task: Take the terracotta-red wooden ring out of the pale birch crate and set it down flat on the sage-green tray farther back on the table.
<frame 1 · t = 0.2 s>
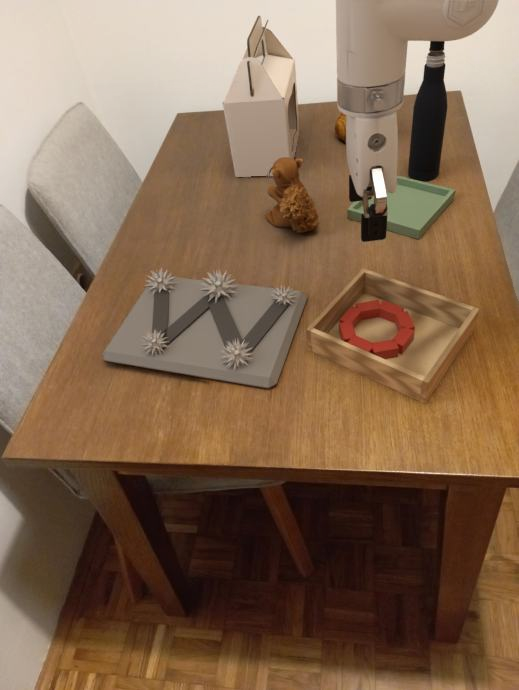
hand: (366, 218, 72), 19 cm above the table, tool pointing down, fingers open, 9 cm apart
crate: (389, 343, 82), on the table
croissant: (367, 135, 129), on the table
tray: (400, 208, 106), on the table
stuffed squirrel: (296, 223, 108), on the table
gable box: (269, 154, 129), on the table
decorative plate: (208, 331, 89), on the table
ring: (375, 333, 83), point 1 cm above the table, touching crate
wine bottle: (423, 174, 114), on the table
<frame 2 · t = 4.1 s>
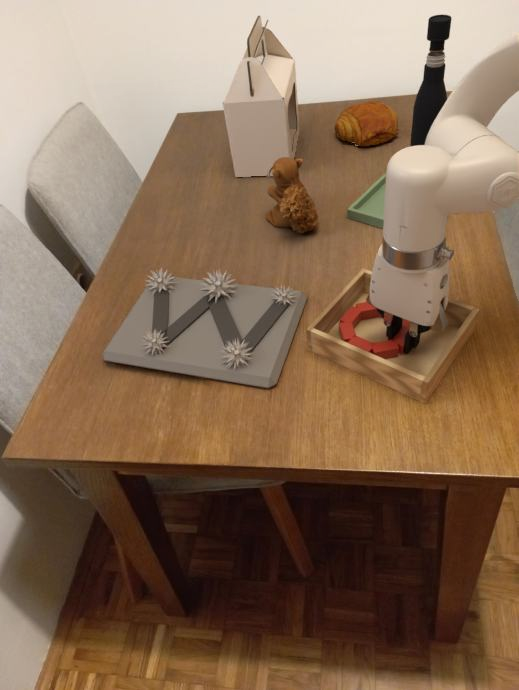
hand: (402, 343, 80), 1 cm above the table, tool pointing down, fingers closed on ring, 2 cm apart
ring: (375, 333, 83), point 1 cm above the table, touching crate, gripper
everything else where it was.
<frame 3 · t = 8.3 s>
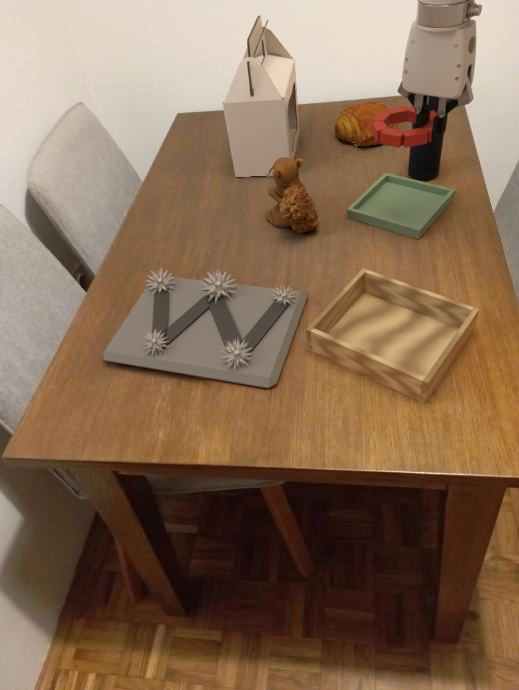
hand: (429, 134, 89), 18 cm above the table, tool pointing down, fingers closed on ring
ring: (405, 131, 91), point 18 cm above the table, touching gripper
everything else where it was.
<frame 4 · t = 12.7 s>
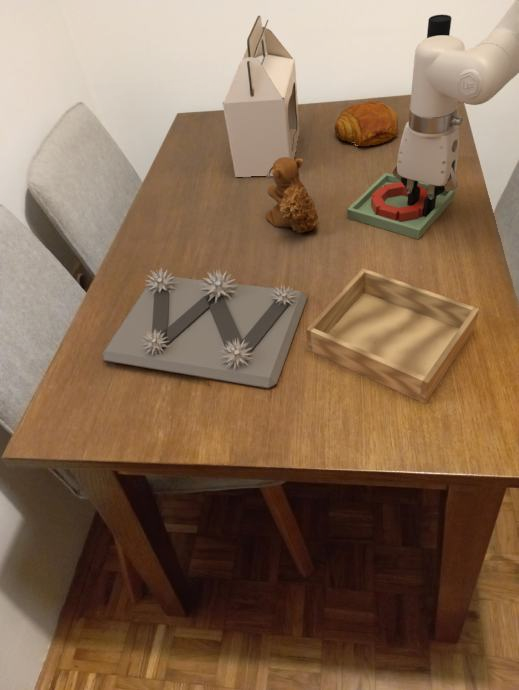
hand: (420, 210, 104), 1 cm above the table, tool pointing down, fingers closed
ring: (400, 205, 106), point 1 cm above the table, touching tray
everything else where it was.
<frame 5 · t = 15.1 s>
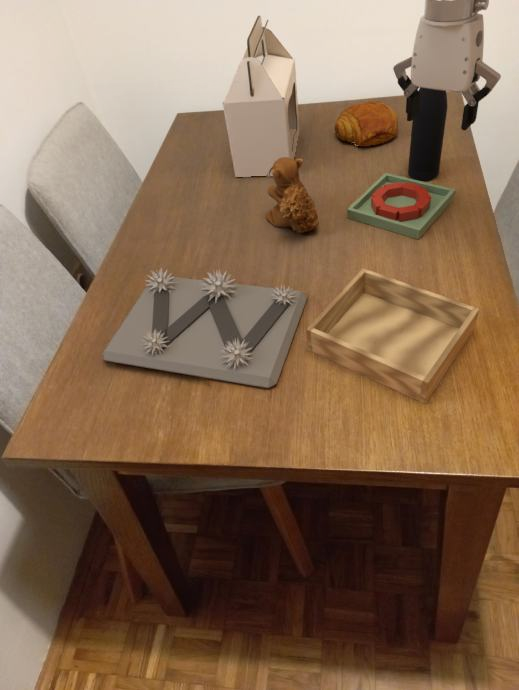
hand: (439, 122, 89), 19 cm above the table, tool pointing down, fingers open, 9 cm apart
nothing on the table moved.
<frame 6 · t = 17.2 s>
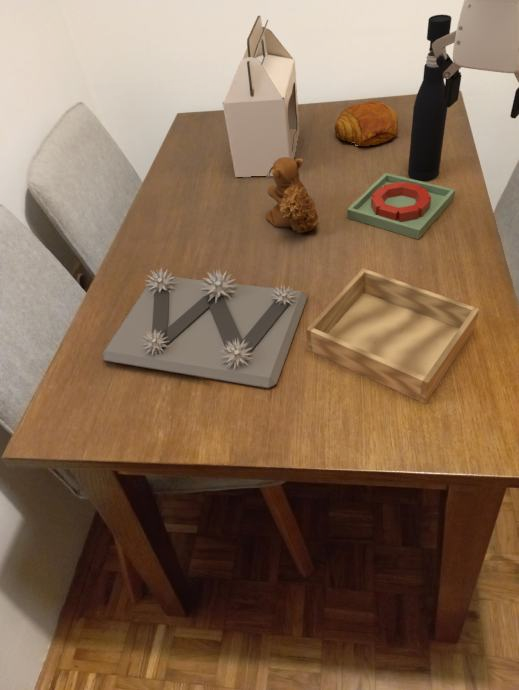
hand: (482, 108, 77), 25 cm above the table, tool pointing down, fingers open, 9 cm apart
nothing on the table moved.
at the end: ring 0.1 cm off-centre in the tray, point 0.6 cm above the tray's base; ring tilted 0°; ring touching tray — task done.
